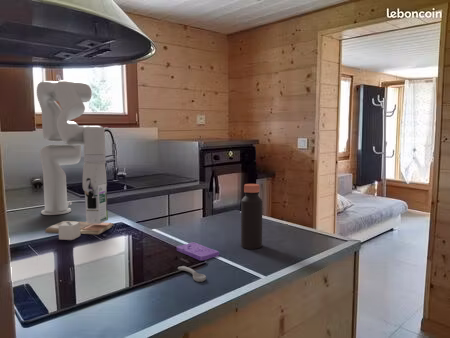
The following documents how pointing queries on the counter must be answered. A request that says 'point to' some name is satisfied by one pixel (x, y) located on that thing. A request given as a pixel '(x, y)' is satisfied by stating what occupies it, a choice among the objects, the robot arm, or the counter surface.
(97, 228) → the board
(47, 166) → the robot arm
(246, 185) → the bottle
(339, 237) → the counter surface
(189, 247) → the sponges
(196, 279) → the spoon
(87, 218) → the syrup box
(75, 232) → the grey cube
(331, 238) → the counter surface
